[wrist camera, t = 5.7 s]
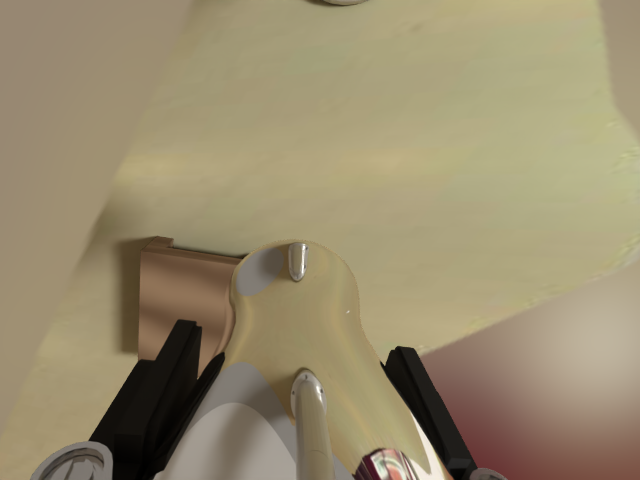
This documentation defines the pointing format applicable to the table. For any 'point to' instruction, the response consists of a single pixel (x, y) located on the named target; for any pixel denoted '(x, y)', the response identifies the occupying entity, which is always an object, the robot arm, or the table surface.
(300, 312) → the beer glass
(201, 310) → the walnut shelf
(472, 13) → the table surface
